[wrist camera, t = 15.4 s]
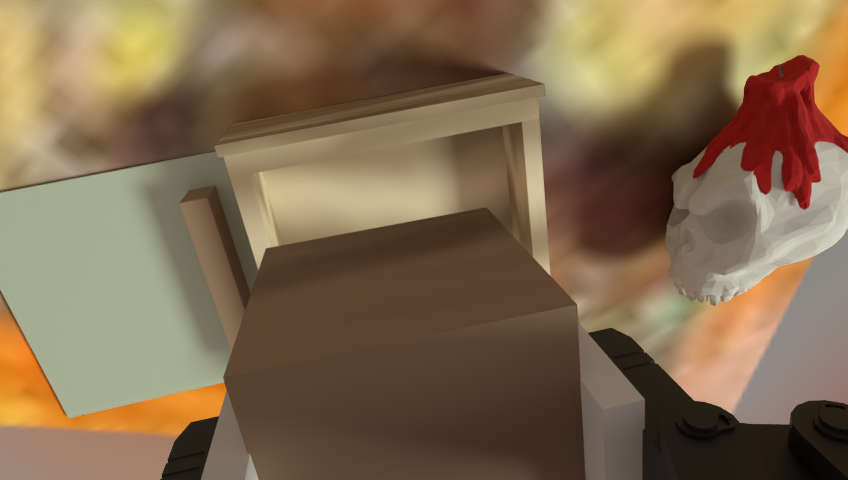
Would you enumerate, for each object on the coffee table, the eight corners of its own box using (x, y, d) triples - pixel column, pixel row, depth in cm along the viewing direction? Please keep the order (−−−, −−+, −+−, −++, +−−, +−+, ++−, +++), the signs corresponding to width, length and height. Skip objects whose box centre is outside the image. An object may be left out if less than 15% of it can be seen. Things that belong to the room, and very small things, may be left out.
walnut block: (265, 248, 14) (222, 377, 9) (486, 207, 15) (577, 304, 9) (314, 430, 17) (303, 628, 11) (506, 388, 17) (588, 555, 12)
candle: (642, 277, 41) (649, 66, 37) (779, 260, 42) (801, 55, 38) (722, 326, 32) (743, 58, 28) (891, 303, 34) (935, 44, 30)
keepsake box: (233, 123, 33) (214, 145, 27) (508, 73, 34) (544, 84, 28) (305, 369, 40) (302, 428, 34) (530, 318, 41) (563, 366, 36)
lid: (-39, 197, 32) (-76, 216, 29) (235, 145, 34) (226, 158, 31) (73, 410, 39) (51, 443, 36) (299, 358, 40) (297, 386, 37)
